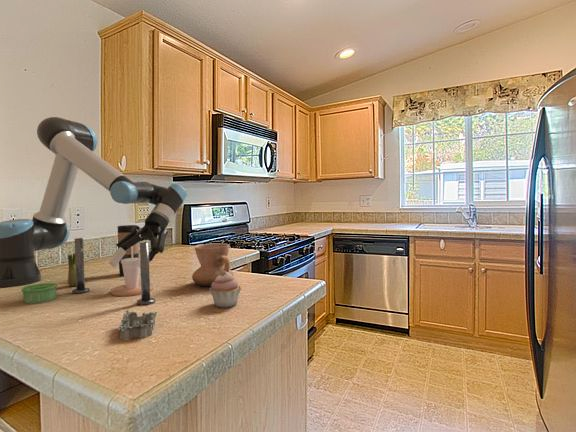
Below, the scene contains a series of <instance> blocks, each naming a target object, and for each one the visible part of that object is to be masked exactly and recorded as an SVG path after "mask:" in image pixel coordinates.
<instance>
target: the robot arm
mask: <svg viewBox="0 0 576 432" xmlns="http://www.w3.org/2000/svg"><path fill="white" fill-rule="evenodd" d="M94 131H95V130H93V129H92V128H91V127H90V126H88V125H87V124H83V123H80V122H76V121H73V120H69V119H65V118H62V117H58V116H50V117H47V118H44V119H43V120H41V121H40V123H38V125H37V129H36V135H37V138H38V140H39V142H40V143H41V144H42V145H43V146H44V147H45V148H46V149H48V150H49V151H50V152H52V153H53V154H54V155H55V157H54V160H53V164H52V167H51V171H50V174H49V178H48V180H47V185H46V187H45V191H44V194H43V195H44V196H42V197H43V198H42V201H41V204H40V208H39V211H37V212H36V213H33V216H32V219H31V218H17V219H10V220H3V221H1V222H0V288H4V287H5V288H6V287H16V286H23V285H28V284H32V283H37V282H39V281H41V280H42V274H41V272H40V269H39V267H38V265H37V261H36V260H35V252H37V251H44V250H51V249H55V248H58V247H61V246H63V245H64V244H65V243H66V242H67V241H68V239H69V237H70V231H71V230H70V229H69V225H68V224H67V222H68V220H67V218H65V214H66V211H67V208H68V205H69V200H70V198H71V195H72V191H73V188H74V184H75V181H76V178H77V174H78V171H79V170H81V171H82V172H83V173H85V175H87V176H88V177H90V179H92V180H94V181H95V182H96V183H98V184H99V185H100V186H102V187H103V188H104V189H106V191H108V192H109V194H110V196H111V199H112V200H113V201H114V202H116V203H118V204H123V205H124V204H125V205H128V204H151V205H154V207H153V208H152V210H151V211H150V213H149V214H148V216H147V217H146V219H145V220H144V225H143V227H140V226H139V225H137V227H136V228H135V229H134V230H133V231H132V232H131V233H129V234H128V235H127V236H126V237H125V238H123V239H122V240H121V241H120V242H118V241H117V243H116V245H115V246H116V247H117V250H116V251H115V253H114V255H113V256H112V258H111V259H110V260H109V262H108V264H109V265H111V266H112V268H116V267H117V266H118V265H119V262H120V260H121V259H122V257H123V256H124V255H125V253H126V250H127V249H129V248H130V247H131V246H133V245H135V244H137V243H138V244H139V243H141V242H144V241H149V243H150V247H149V264H150V263H151V262H152V261H153V259H154V258H155V256H156V255H157V254H159V253H160V254H162V253H163V252H165V251H164V249H165V244H166V239H167V238H166V237H167V235H168V233H169V231H168V230H167V227H168V225H169V224H170V222H171V221H172V219H173V218H174V216H175V215H176V213H177V212H178V211H179V209H180V208H181V206H182V205H183V204H184V201H185V200H186V197H188V194H187V190H186V189H185V188H184V186H182V185H180V184H179V183H172V184H170V185H169V186H168V187H165V186H160V185H156V184H154V183H150V182H148V181H143V180H137V181H136V182H134V181H133V180H131V179H130V178H128V177H127V176H125V174H123V173H121V171H119V170H118V169H117V168H115V167H114V166H112V165H111V164H110V163H108V162H107V161H106V160H104V159H103V158H102V157H101V156H99V155H98V154H96V153H95V152H94V151H95V150H96V148H97V145H98V138H97V134H96V133H95V132H94ZM118 247H119V249H118ZM124 247H125V248H124ZM138 267H139V268H140V270H141V266H140V263H139V264H138Z"/></svg>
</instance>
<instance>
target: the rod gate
mask: <svg viewBox="0 0 576 432" xmlns="http://www.w3.org/2000/svg"><path fill="white" fill-rule="evenodd" d="M149 243H150V241H149V242H148V241H141V242H139V258H140V266H141V269H140V283H141V294H140V296H141V298H140V299H137V300H136V304H137V306H148V305H149V306H150V305H152V304H155V303H156V298H155V297H151V291H150V284H151V283H150V280H151V279H150V275H151V274H150V263H149V250H150V247H149ZM74 252H75V264H76V286H75V288H74V289H72V290H71V294H72V295H73V294H74V295H80V294H86V293H89V292H90V287H85V286H86V283H85V259H84V258H85V257H84V237H76V238H74Z"/></svg>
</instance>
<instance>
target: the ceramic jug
mask: <svg viewBox="0 0 576 432" xmlns="http://www.w3.org/2000/svg"><path fill="white" fill-rule="evenodd" d="M229 251H230V244H228V243H221V242H220V243H205V244H204V243H201V244H197V245H195V246H194V252H195V255H196V258H197V260H198V262H199V264H200V267H198V268H197V269H195V271H194V272H193V273H192V276H191V278H192V281H193V282H194V283H195V284H196V285H198V286H199V285H200V286H202V287H203V286H204V287H212V286H211V285H212V283H213V282H214V281H215V279H216V278H217V277H218V276H220V275H222V274H223V272H224V271H226V272H228V273H230V274H232V276H233V277H234V272H233V271H232V269H231V262H230V261H231V260H230V258H229V257H228V254H229Z"/></svg>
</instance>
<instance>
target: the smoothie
mask: <svg viewBox="0 0 576 432" xmlns="http://www.w3.org/2000/svg"><path fill="white" fill-rule="evenodd" d="M131 257H132V258H126V259H122V260H121V264H122V267H123V273H124V276H123V278H124V285H126V289H135V288H138V283H139V281H140V274H141V269H140V268H139V267H138V264H139V263H140V257H139V258H133V246H131Z"/></svg>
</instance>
